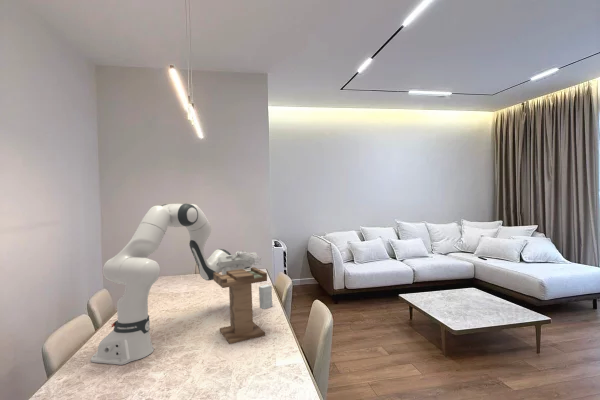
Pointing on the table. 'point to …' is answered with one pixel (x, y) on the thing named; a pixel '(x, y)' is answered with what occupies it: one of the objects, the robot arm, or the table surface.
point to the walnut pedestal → (240, 303)
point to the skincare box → (265, 296)
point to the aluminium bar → (249, 258)
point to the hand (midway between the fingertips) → (241, 253)
